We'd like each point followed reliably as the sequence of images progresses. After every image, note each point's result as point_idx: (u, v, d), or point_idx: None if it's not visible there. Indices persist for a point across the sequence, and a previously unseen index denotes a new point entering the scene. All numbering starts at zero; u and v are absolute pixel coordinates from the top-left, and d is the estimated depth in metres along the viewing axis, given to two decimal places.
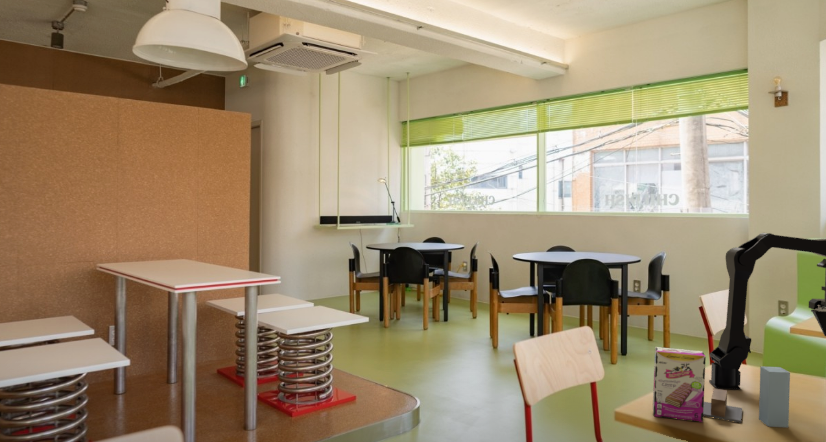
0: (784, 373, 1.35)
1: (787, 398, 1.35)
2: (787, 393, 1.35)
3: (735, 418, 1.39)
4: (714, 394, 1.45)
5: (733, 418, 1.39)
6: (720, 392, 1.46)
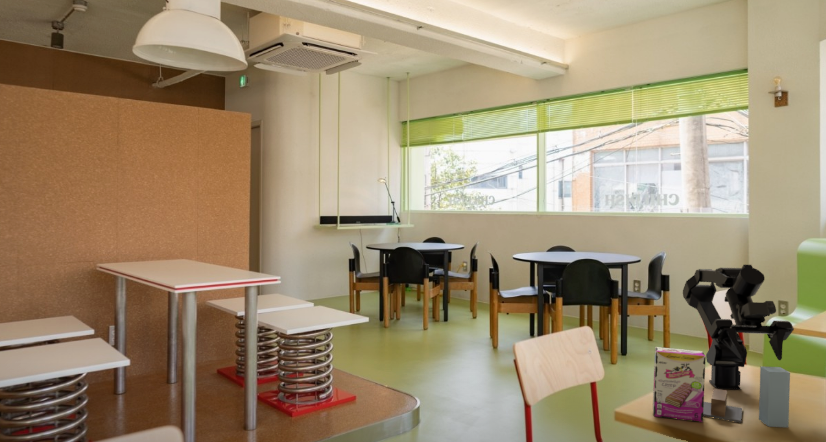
0: (784, 373, 1.35)
1: (787, 398, 1.35)
2: (787, 393, 1.35)
3: (735, 418, 1.39)
4: (714, 394, 1.45)
5: (733, 418, 1.39)
6: (720, 392, 1.46)
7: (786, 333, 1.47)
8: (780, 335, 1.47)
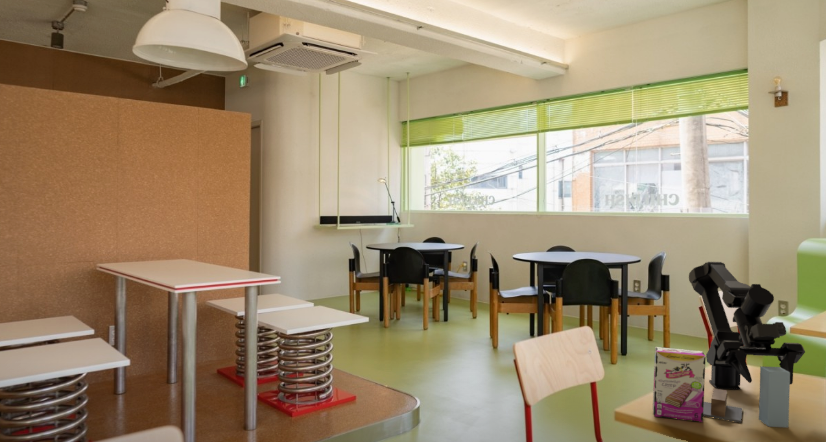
0: (784, 373, 1.35)
1: (787, 398, 1.35)
2: (787, 393, 1.35)
3: (735, 418, 1.39)
4: (714, 394, 1.45)
5: (733, 418, 1.39)
6: (720, 392, 1.46)
7: (797, 356, 1.42)
8: (791, 358, 1.41)
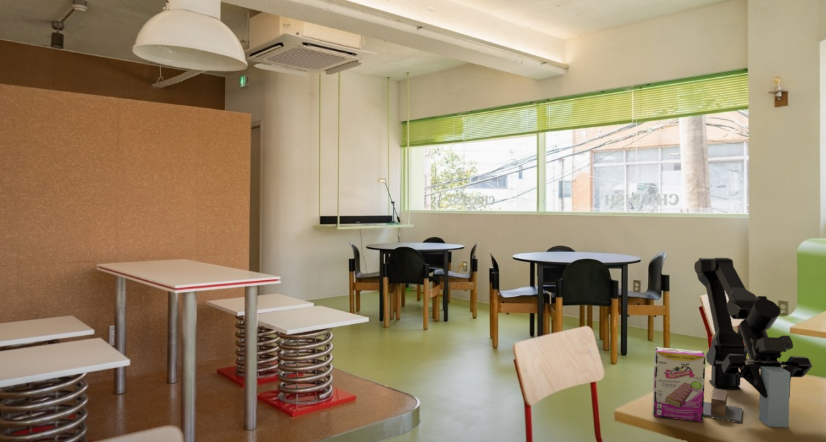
0: (784, 373, 1.35)
1: (787, 398, 1.35)
2: (787, 393, 1.35)
3: (735, 418, 1.39)
4: (714, 394, 1.45)
5: (733, 418, 1.39)
6: (720, 392, 1.46)
7: (794, 370, 1.39)
8: None
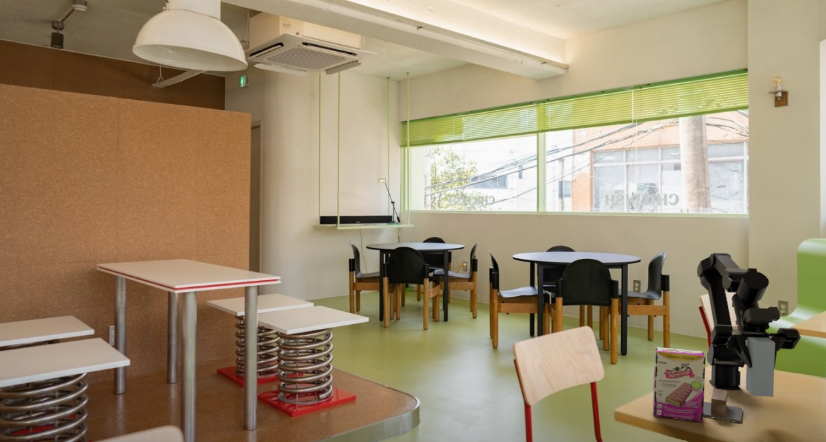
0: (769, 343, 1.36)
1: (772, 368, 1.36)
2: (772, 363, 1.36)
3: (735, 418, 1.39)
4: (714, 394, 1.45)
5: (733, 418, 1.39)
6: (720, 392, 1.46)
7: (782, 341, 1.39)
8: (775, 343, 1.39)
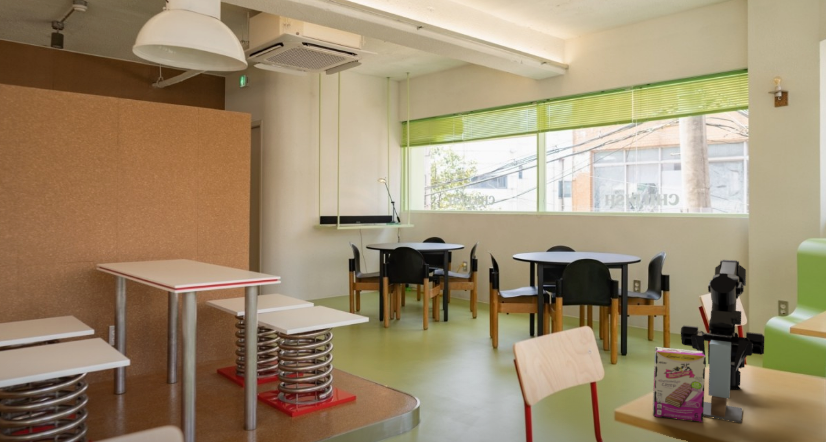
0: (725, 346, 1.42)
1: (728, 370, 1.42)
2: (728, 365, 1.42)
3: (735, 418, 1.39)
4: None
5: (733, 418, 1.39)
6: None
7: (749, 345, 1.43)
8: (741, 346, 1.43)
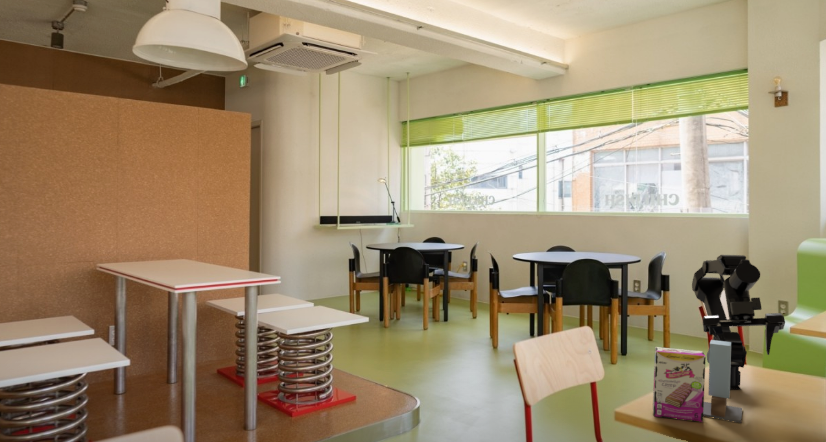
0: (725, 346, 1.42)
1: (728, 370, 1.42)
2: (728, 365, 1.42)
3: (735, 418, 1.39)
4: None
5: (733, 418, 1.39)
6: None
7: (777, 327, 1.47)
8: (770, 329, 1.48)
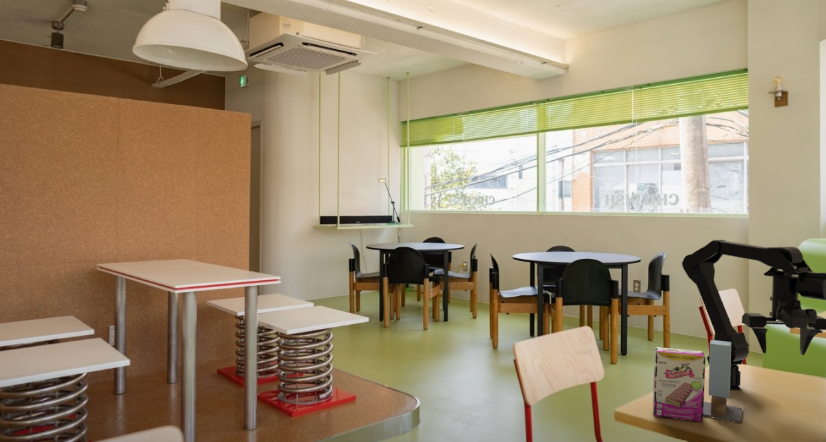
0: (725, 346, 1.42)
1: (728, 370, 1.42)
2: (728, 365, 1.42)
3: (735, 418, 1.39)
4: None
5: (733, 418, 1.39)
6: None
7: None
8: (811, 334, 1.49)
